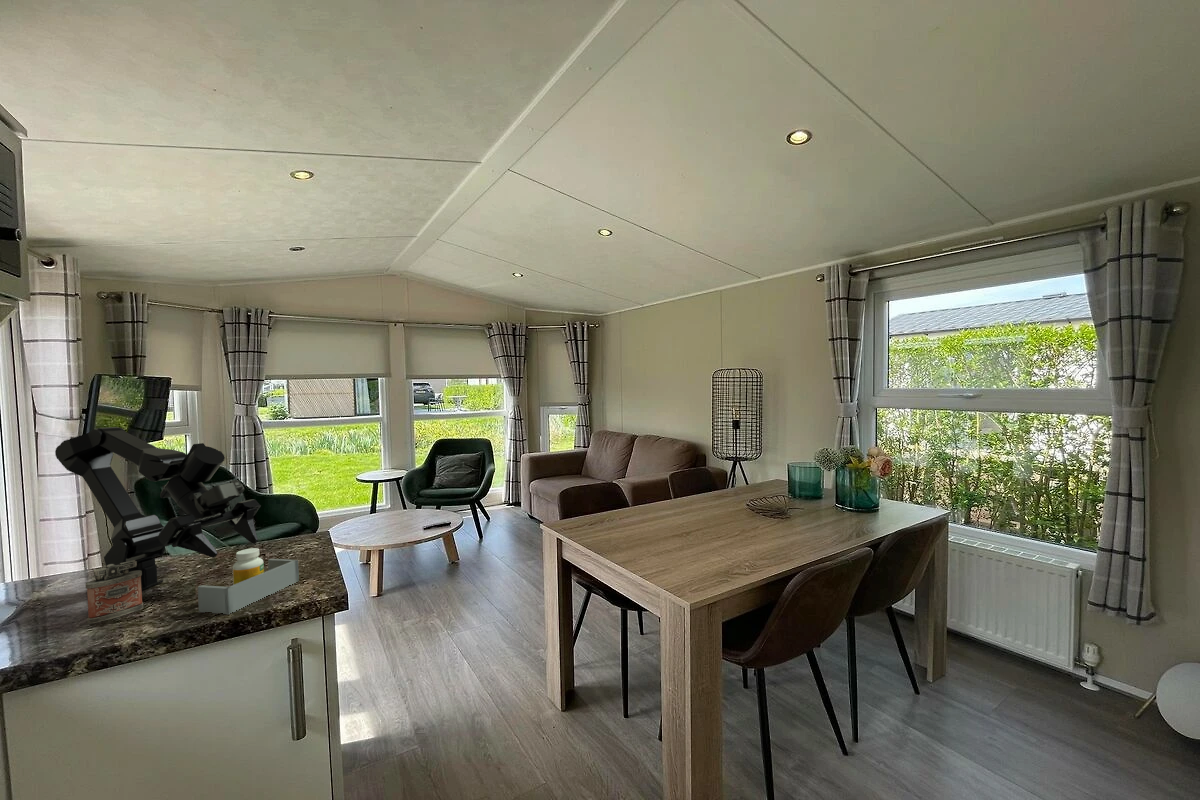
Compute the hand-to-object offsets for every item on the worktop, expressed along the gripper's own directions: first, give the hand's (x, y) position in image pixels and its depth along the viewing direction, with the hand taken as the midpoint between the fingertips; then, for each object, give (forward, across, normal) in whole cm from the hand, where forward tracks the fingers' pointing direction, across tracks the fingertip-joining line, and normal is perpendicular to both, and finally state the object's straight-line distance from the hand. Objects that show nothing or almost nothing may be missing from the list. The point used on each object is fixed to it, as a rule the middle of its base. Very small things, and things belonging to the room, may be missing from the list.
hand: (236, 548), depth 105 cm
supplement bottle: (+9, 0, +5) cm, 11 cm away
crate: (+9, 0, +5) cm, 10 cm away
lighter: (-5, -12, +19) cm, 23 cm away
